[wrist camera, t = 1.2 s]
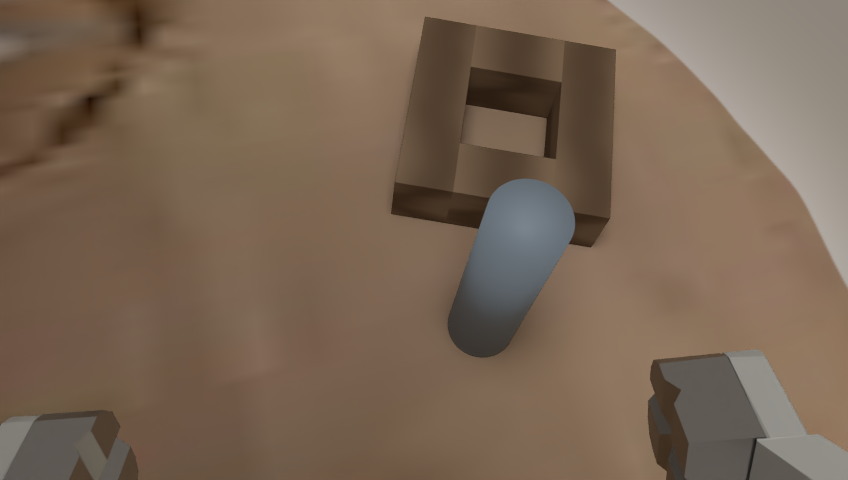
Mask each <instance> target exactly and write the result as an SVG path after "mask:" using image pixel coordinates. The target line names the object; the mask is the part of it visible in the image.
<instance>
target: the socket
mask: <svg viewBox="0 0 848 480" xmlns="http://www.w3.org/2000/svg"><path fill="white" fill-rule="evenodd" d="M615 61H616V50H615V49H609V48H603V47H597V46H592V45H586V44H580V43H574V42H569V41H563V40H557V39H551V38H546V37H540V36H534V35H528V34H522V33H517V32H511V31H505V30H499V29H494V28H488V27H482V26H476V25H470V24H465V23H459V22H453V21H447V20H442V19H436V18H430V17H425V20H424V25H423V31H422V36H421V42H420V47H419V53H418V58H417V64H416V69H415V75H414V80H413V86H412V91H411V97H410V102H409V108H408V113H407V119H406V124H405V130H404V135H403V141H402V146H401V152H400V157H399V162H398V168H397V174H396V179H395V186H394V194H393V203H392V211H391V214H396V215H402V216H408V217H414V218H420V219H426V220H432V221H438V222H444V223H450V224H456V225H462V226H468V227H474V228H479V227H480V224H481V221H482V218H483V216H484V213H485V210H486V207H487V204H488V201H489V199H490V197H491V196H492V194H493V193H494V192H495V191H496V190H497V189H498V188H499V187H500V186H502V185H503V184H505V183H507V182H510V181H512V180H516V179H535V180H539V181H542V182H545V183H547V184H549V185H551V186H553V187H555V188H556V189H557V190H559V191H560V192H561V193H562V194H563V195H564V196H565V198H566V199H567V200H568V202H569V203H570V205H571V207H572V209H573V212H574V217H575V230H574V234H573V236H572V238H571V240H570V242H569V244H575V245H581V246H587V247H591V246H592V245H593V243H594V242H595V240H596V239H597V237H598V236H599V234H600V233H601V231H602V230H603V228H604V227H605V225H606V224H607V222H608V221H609V219H610V205H611V176H612V148H613V119H614V90H615ZM465 104H469V105H475V106H481V107H487V108H493V109H499V110H504V111H510V112H516V113H522V114H528V115H534V116H540V117H545V118H547V127H546V139H545V151H544V157H539V156H533V155H527V154H521V153H515V152H510V151H504V150H498V149H492V148H486V147H480V146H474V145H468V144H462V143H460V140H461V133H462V125H463V118H464V111H465Z"/></svg>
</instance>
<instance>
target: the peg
mask: <svg viewBox="0 0 848 480" xmlns="http://www.w3.org/2000/svg"><path fill="white" fill-rule="evenodd" d="M574 230H575V217H574V212H573V209H572V207H571V205H570V203H569V202H568V200H567V199H566V198H565V196H564V195H563V194H562V193H561V192H560V191H559V190H557V189H556V188H555V187H553V186H551V185H549V184H547V183H545V182H542V181H539V180H535V179H516V180H512V181H510V182H507V183H505V184H503V185H502V186H500V187H499V188H498V189H497V190H496V191H495V192H494V193H493V194H492V196H491V197H490V199H489V201H488V204H487V207H486V210H485V213H484V216H483V218H482V221H481V224H480V227H479V230H478V233H477V236H476V239H475V242H474V244H473V247H472V250H471V253H470V256H469V259H468V262H467V265H466V268H465V271H464V273H463V276H462V279H461V282H460V285H459V288H458V291H457V294H456V297H455V299H454V302H453V305H452V308H451V311H450V314H449V317H448V330H449V334H450V337H451V339H452V340H453V342H454V343H455V345H456V346H457V347H458V348H459V349H461V350H462V351H463V352H465V353H467V354H469V355H472V356H475V357H490V356H493V355H496V354H498V353H500V352H501V351H503V350H504V349H505V348H506V347H507V345H508V344H509V342H510V341H511V339H512V337H513V336H514V334H515V332H516V331H517V329H518V327H519V326H520V324H521V322H522V321H523V319H524V317H525V316H526V314H527V312H528V311H529V309H530V307H531V306H532V304H533V302H534V301H535V299H536V297H537V296H538V294H539V292H540V291H541V289H542V287H543V286H544V284H545V282H546V281H547V279H548V277H549V276H550V274H551V272H552V271H553V269H554V267H555V266H556V264H557V262H558V261H559V259H560V257H561V256H562V254H563V252H564V250H565V249H566V247H567V245H568V244H569V242H570V240H571V238H572V236H573V234H574Z"/></svg>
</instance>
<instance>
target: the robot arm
mask: <svg viewBox="0 0 848 480" xmlns="http://www.w3.org/2000/svg"><path fill="white" fill-rule="evenodd" d="M650 381H651V384H652V387H653V390H654V392H655V394H654V395H653V396H652V397H651V398H650V399H649V400H648V425H649V435H650V440H651V444H652V449H653V452H654V455H655V458H656V462H657V464H658V465H660V466H661V467H662V468H663V469H665V470H666V471H667V475H666V480H848V452H846V451H845V450H843V449H842V448H840V447H839V446H837V445H835V444H834V443H832V442H831V441H829V440H828V439H826V438H825V437H823V436H822V435H820V434H814V435H808V433H807V431H806V429H805V427H804V426H803V424H802V422H801V420H800V418H799V416H798V415H797V413H796V411H795V409H794V407H793V406H792V404H791V402H790V400H789V398H788V396H787V395H786V393H785V391H784V389H783V387H782V386H781V384H780V382H779V380H778V378H777V376H776V375H775V373H774V371H773V369H772V367H771V366H770V364H769V362H768V360H767V358H766V356H765V355H764V353H762V352H761V351H760V350H758V349H756V350H746V351H736V352H726V353H723V354H720V353H717V354H707V355H697V356H687V357H677V358H667V359H657V360H653V363H652V365H651V372H650ZM119 429H120V424H119V423H118V421H117V419H116V417H115V416H114V414H113V412H112V411H106V410H100V411H84V412H69V413H54V414H42V415H33V416H17V417H10V418H9V419H7V420H6V421H5V422H3V423H2V424H1V425H0V480H138V467H137V462H136V457H135V455H134V453H133V451H132V449H131V446H129V445H128V444H126V443H125V442H123V441H121V440H120V439H118V438H117V434H118V432H119Z"/></svg>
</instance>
